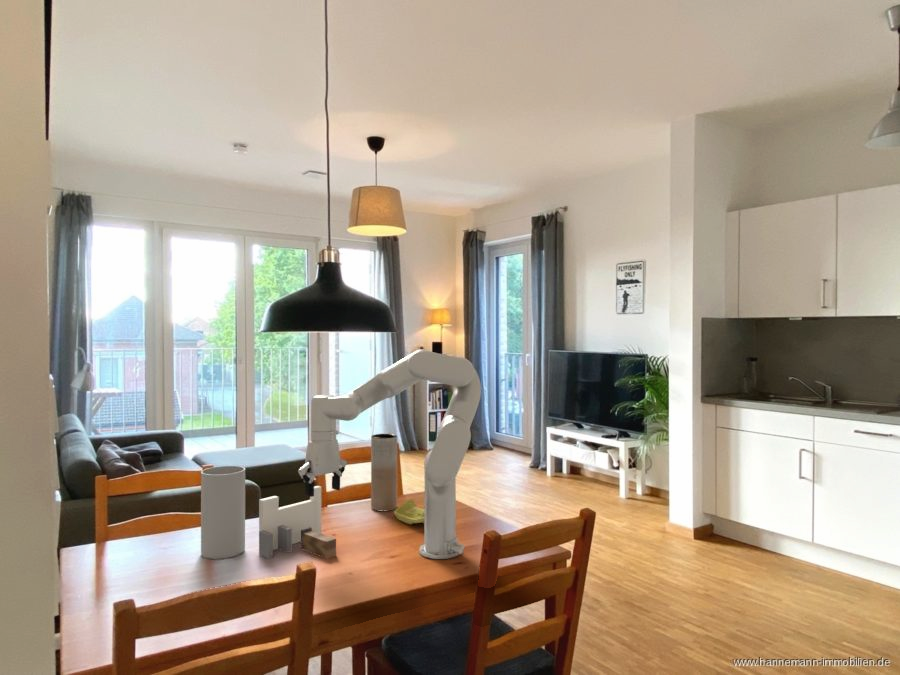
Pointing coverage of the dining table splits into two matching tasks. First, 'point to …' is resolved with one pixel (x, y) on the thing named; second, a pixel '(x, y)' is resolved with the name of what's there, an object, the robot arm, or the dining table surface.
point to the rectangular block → (318, 543)
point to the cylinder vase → (222, 512)
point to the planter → (384, 471)
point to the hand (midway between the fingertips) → (323, 492)
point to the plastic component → (410, 513)
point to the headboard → (286, 522)
